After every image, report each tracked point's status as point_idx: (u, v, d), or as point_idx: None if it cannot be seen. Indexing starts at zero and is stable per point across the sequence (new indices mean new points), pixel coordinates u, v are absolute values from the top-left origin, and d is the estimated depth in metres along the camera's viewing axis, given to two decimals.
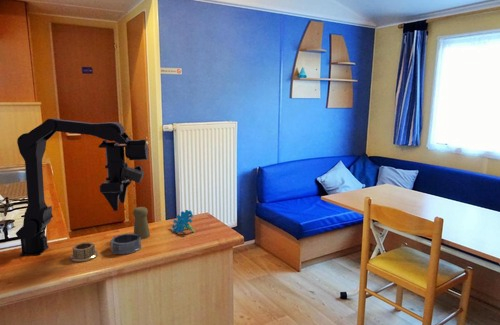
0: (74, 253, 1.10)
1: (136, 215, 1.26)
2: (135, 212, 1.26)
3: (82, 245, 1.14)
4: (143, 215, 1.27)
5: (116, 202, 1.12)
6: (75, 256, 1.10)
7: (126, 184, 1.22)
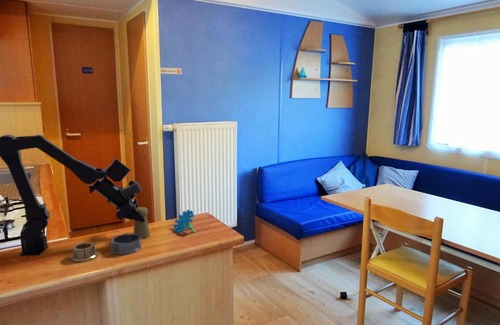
0: (74, 253, 1.10)
1: None
2: None
3: (82, 245, 1.14)
4: (143, 215, 1.27)
5: (139, 215, 1.25)
6: (75, 256, 1.10)
7: (134, 202, 1.31)
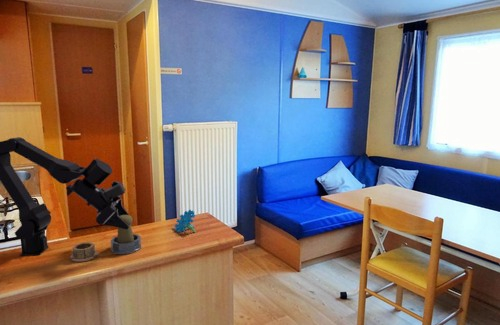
0: (74, 253, 1.10)
1: None
2: None
3: (82, 245, 1.14)
4: (127, 224, 1.16)
5: (121, 221, 1.12)
6: (75, 256, 1.10)
7: (119, 203, 1.21)
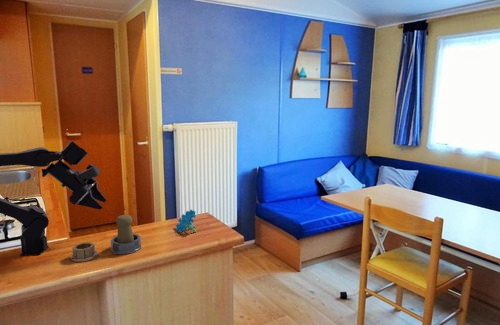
0: (74, 253, 1.10)
1: (119, 224, 1.15)
2: (118, 221, 1.15)
3: (82, 245, 1.14)
4: (127, 224, 1.16)
5: (95, 202, 1.17)
6: (75, 256, 1.10)
7: (94, 186, 1.26)
